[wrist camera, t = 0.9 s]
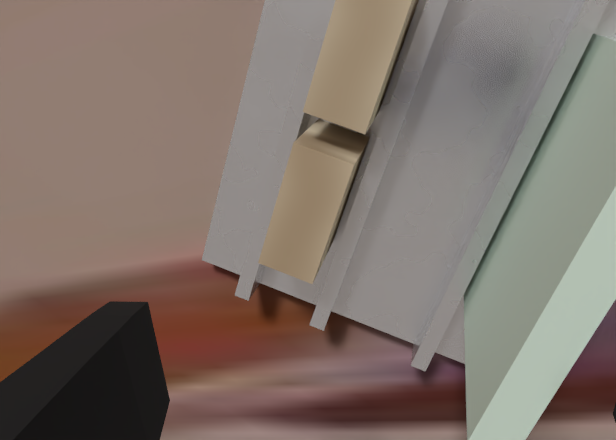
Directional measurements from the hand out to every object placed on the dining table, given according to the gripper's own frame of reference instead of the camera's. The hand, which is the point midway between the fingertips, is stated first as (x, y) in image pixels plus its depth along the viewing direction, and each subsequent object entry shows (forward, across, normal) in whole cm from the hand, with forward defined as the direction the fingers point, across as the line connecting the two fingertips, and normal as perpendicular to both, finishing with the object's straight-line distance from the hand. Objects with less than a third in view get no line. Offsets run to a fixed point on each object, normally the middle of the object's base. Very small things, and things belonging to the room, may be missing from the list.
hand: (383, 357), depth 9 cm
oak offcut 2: (+13, +2, +3) cm, 13 cm away
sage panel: (+12, -6, +2) cm, 13 cm away
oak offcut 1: (+13, 0, -2) cm, 13 cm away
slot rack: (+14, -3, +2) cm, 14 cm away
